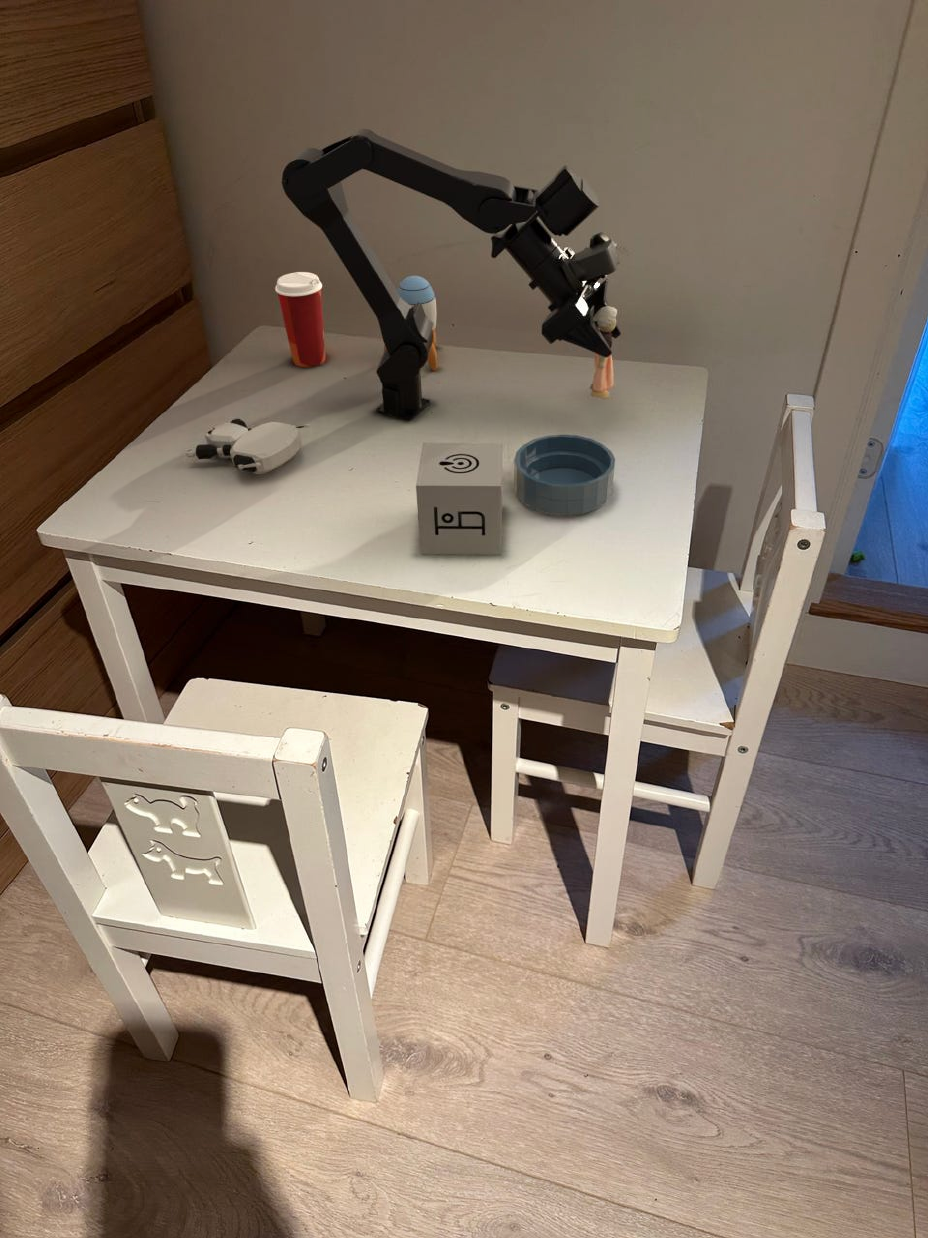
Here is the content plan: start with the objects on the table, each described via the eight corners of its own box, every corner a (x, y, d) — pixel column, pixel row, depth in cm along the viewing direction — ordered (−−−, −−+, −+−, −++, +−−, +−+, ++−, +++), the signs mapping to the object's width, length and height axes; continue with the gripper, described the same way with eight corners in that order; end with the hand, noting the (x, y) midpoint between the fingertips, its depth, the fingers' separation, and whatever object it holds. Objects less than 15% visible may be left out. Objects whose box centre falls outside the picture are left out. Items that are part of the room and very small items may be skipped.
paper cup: (339, 354, 156) (330, 274, 146) (316, 373, 150) (304, 290, 141) (302, 347, 158) (290, 268, 149) (277, 365, 153) (263, 283, 144)
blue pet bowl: (538, 457, 128) (539, 426, 125) (625, 479, 123) (629, 447, 120) (497, 503, 119) (497, 471, 116) (589, 528, 114) (592, 495, 111)
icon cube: (420, 553, 111) (415, 485, 104) (426, 508, 119) (422, 442, 112) (500, 554, 110) (501, 486, 104) (502, 509, 118) (502, 442, 111)
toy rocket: (449, 375, 151) (429, 295, 139) (388, 386, 152) (363, 308, 141) (448, 342, 157) (429, 262, 146) (390, 353, 159) (367, 275, 148)
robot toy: (185, 473, 128) (268, 490, 122) (176, 445, 126) (261, 460, 120) (238, 434, 137) (318, 448, 131) (230, 407, 134) (312, 420, 128)
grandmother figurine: (618, 401, 130) (628, 316, 121) (592, 403, 129) (600, 318, 121) (606, 377, 135) (615, 295, 127) (581, 379, 135) (588, 296, 127)
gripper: (570, 242, 111) (648, 338, 115) (600, 199, 124) (669, 286, 129) (508, 298, 118) (584, 386, 122) (542, 251, 131) (609, 332, 136)
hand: (614, 345), depth 127 cm, fingers closed on grandmother figurine, 6 cm apart
